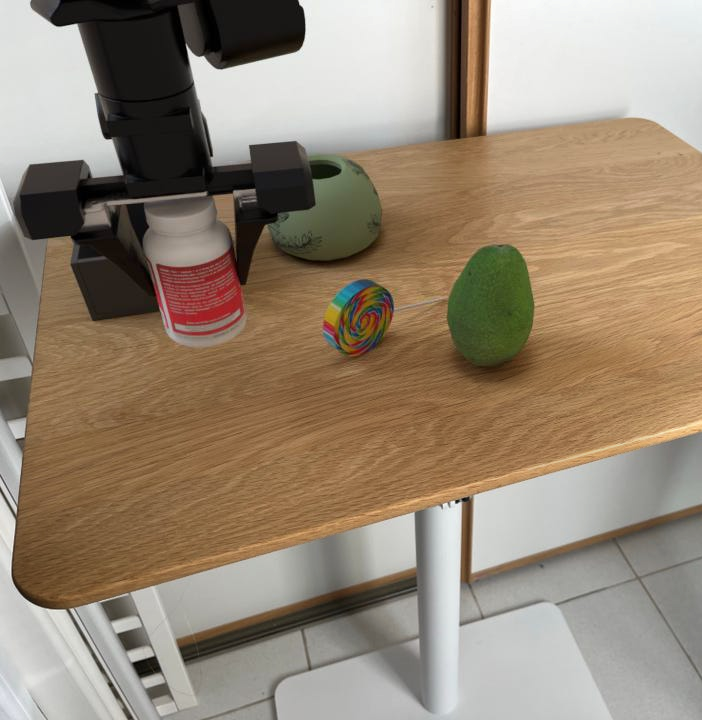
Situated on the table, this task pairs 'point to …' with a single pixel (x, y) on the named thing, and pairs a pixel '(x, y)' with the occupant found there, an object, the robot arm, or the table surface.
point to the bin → (111, 278)
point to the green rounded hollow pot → (332, 213)
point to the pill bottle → (194, 271)
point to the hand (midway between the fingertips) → (199, 288)
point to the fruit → (491, 306)
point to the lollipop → (360, 317)
